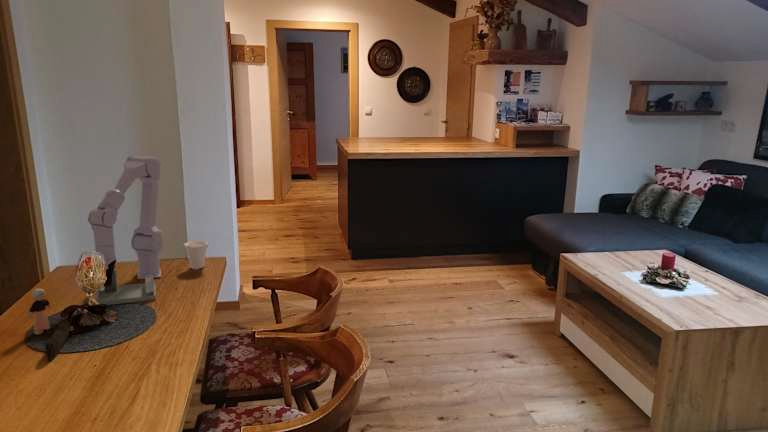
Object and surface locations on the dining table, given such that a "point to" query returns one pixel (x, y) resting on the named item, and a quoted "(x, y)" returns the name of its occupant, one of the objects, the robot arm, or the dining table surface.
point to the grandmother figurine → (39, 311)
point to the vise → (124, 294)
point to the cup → (196, 253)
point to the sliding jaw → (149, 284)
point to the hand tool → (57, 339)
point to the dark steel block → (114, 283)
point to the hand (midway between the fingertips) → (107, 283)
